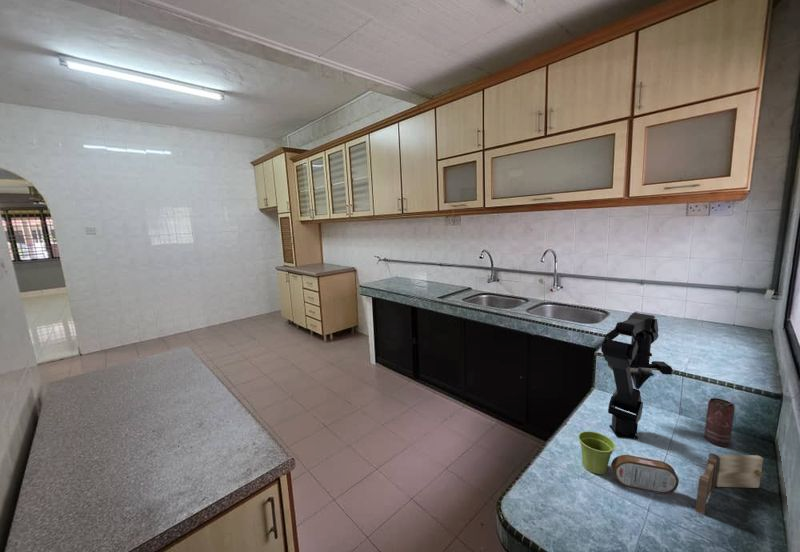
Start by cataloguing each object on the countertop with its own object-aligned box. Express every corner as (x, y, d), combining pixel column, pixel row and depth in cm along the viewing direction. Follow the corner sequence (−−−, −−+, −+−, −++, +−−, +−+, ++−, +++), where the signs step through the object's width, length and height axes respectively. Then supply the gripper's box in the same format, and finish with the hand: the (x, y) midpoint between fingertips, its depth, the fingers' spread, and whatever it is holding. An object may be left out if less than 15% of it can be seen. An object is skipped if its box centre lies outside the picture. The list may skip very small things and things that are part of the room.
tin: (673, 490, 88) (676, 461, 87) (679, 499, 86) (682, 470, 84) (609, 477, 93) (611, 450, 92) (612, 485, 90) (614, 457, 89)
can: (735, 448, 104) (741, 407, 102) (712, 446, 106) (717, 406, 104) (721, 437, 110) (726, 398, 108) (699, 435, 111) (704, 396, 110)
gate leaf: (712, 490, 88) (716, 460, 87) (703, 481, 91) (706, 453, 89) (764, 491, 87) (768, 461, 86) (753, 483, 90) (757, 454, 89)
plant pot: (620, 473, 95) (622, 445, 94) (598, 483, 91) (600, 454, 90) (590, 453, 103) (592, 428, 102) (569, 462, 100) (571, 435, 99)
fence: (703, 514, 81) (708, 482, 79) (695, 510, 82) (699, 478, 81) (713, 490, 88) (717, 459, 87) (705, 486, 89) (708, 456, 88)
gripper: (657, 341, 124) (653, 380, 126) (603, 339, 128) (600, 377, 130) (675, 352, 113) (671, 394, 115) (615, 349, 117) (612, 390, 119)
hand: (637, 388), depth 120 cm, fingers closed
